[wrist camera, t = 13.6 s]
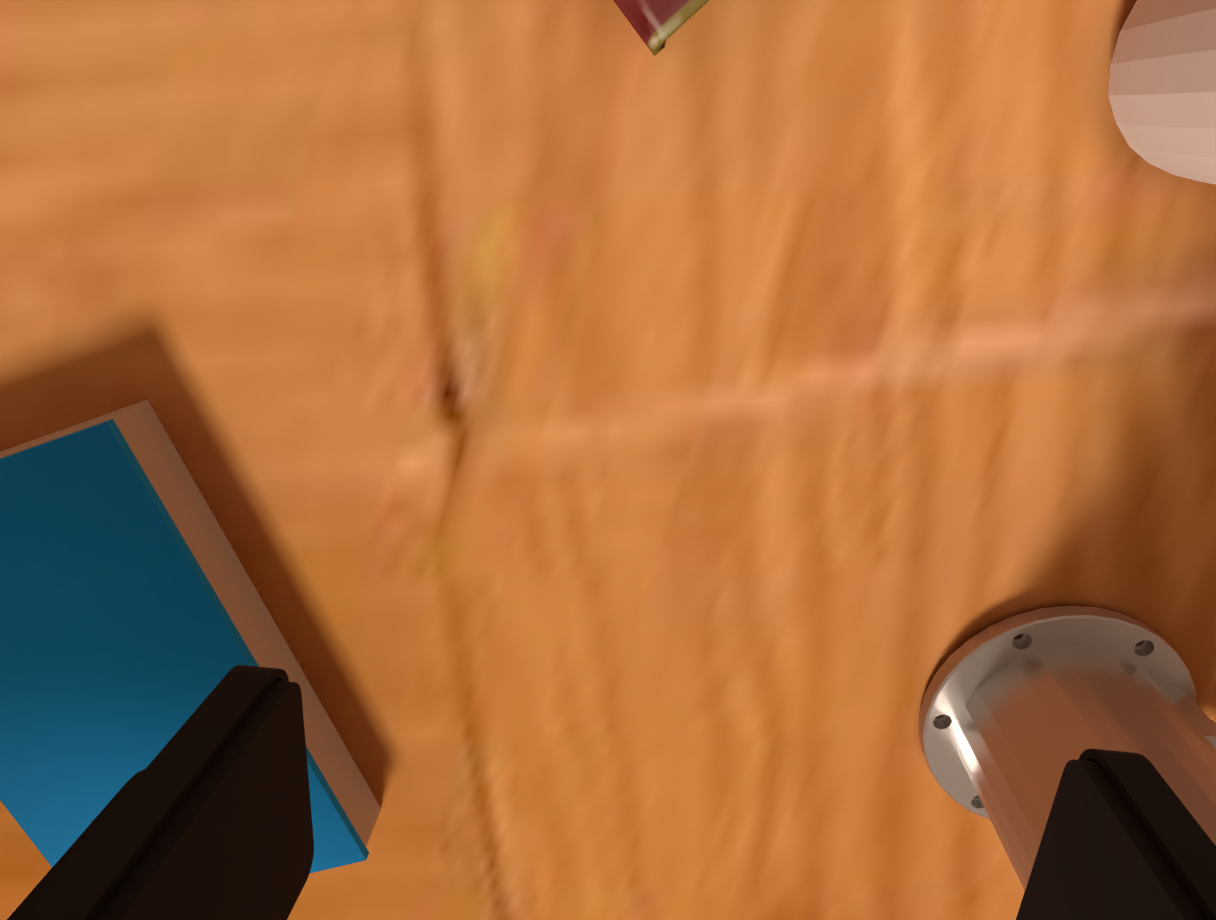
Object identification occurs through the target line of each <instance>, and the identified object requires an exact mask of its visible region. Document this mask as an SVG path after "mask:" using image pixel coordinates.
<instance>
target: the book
mask: <svg viewBox="0 0 1216 920" xmlns="http://www.w3.org/2000/svg"><path fill="white" fill-rule="evenodd" d="M237 665H248V666H258V667H268V668H278V669H283V670H285V671H286V673H287V675H288V678H289V682H296V683H298V684H299V686H300V688H301V693H302V705H303V717H304V729H305V741H306V753H307V765H308V777H309V790H310V802H311V814H312V826H313V838H314V856H313V862H312V866H311V870H310V873H313V872H317V871H321V870H326V869H330V868H334V867H339V866H343V865H347V864H351V863H356V862H360V861H364V860H366V859H367V857H368V854H369V852H368V850H367V848H366V845H367V843H368V840H369V838H370V835H371V833H372V830H373V828H374V825H375V823H376V820H377V817H378V815H379V812H380V810H381V807H380V806H379V804H378V802H377V800H376V799H375V797H374V795H373V793H372V792H371V790H370V788H369V786H368V785H367V783H366V781H365V779H364V778H363V776H362V774H361V772H360V771H359V769H358V767H357V765H356V764H355V762H354V760H353V758H352V757H351V755H350V753H349V751H348V750H347V748H346V746H345V744H344V743H343V741H342V739H341V737H340V736H339V734H338V732H337V730H336V729H335V727H334V725H333V723H332V721H331V720H330V718H329V716H328V714H327V713H326V711H325V709H324V707H323V706H322V704H321V702H320V700H319V699H318V697H317V695H316V693H315V692H314V690H313V688H312V686H311V685H310V683H309V681H308V679H307V678H306V676H305V674H304V672H303V671H302V669H301V667H300V665H299V664H298V662H297V660H296V658H295V657H294V655H293V653H292V651H291V650H290V648H289V646H288V644H287V643H286V641H285V639H284V637H283V636H282V634H281V632H280V630H279V629H278V627H277V625H276V623H275V622H274V620H273V618H272V616H271V615H270V613H269V611H268V609H267V608H266V606H265V604H264V602H263V601H262V599H261V597H260V595H259V594H258V592H257V590H256V588H255V587H254V585H253V583H252V581H251V580H250V578H249V576H248V574H247V573H246V571H245V569H244V567H243V566H242V564H241V562H240V560H239V559H238V557H237V555H236V553H235V552H234V550H233V548H232V546H231V545H230V543H229V541H228V539H227V538H226V536H225V534H224V532H223V531H222V529H221V527H220V525H219V524H218V522H217V520H216V518H215V516H214V515H213V513H212V511H211V509H210V508H209V506H208V504H207V502H206V501H205V499H204V497H203V495H202V494H201V492H200V490H199V488H198V487H197V485H196V483H195V481H194V480H193V478H192V476H191V474H190V473H189V471H188V469H187V467H186V466H185V464H184V462H183V460H182V459H181V457H180V455H179V453H178V452H177V450H176V448H175V446H174V445H173V443H172V441H171V439H170V438H169V436H168V434H167V432H166V431H165V429H164V427H163V425H162V424H161V422H160V420H159V418H158V417H157V415H156V413H155V411H154V410H153V408H152V406H151V404H150V403H149V401H148V399H147V400H144V401H141V402H138V403H135V404H133V405H130V406H127V407H124V408H121V409H118V410H116V411H113V412H110V413H107V414H104V415H101V416H99V417H96V418H93V419H90V420H87V421H84V422H82V423H79V424H76V425H73V426H70V427H67V428H65V429H62V430H59V431H56V432H53V433H50V434H48V435H45V436H42V437H39V438H36V439H33V440H31V441H28V442H25V443H22V444H19V445H16V446H14V447H11V448H8V449H5V450H2V451H0V800H1V802H2V803H3V804H4V806H5V807H6V808H7V809H8V811H9V812H10V813H11V815H12V816H13V817H14V819H15V820H16V821H17V822H18V824H19V825H20V826H21V828H22V829H23V830H24V831H25V833H26V834H27V835H28V837H29V838H30V839H31V840H32V842H33V843H34V844H35V846H36V847H37V848H38V849H39V851H40V852H41V853H42V855H43V856H44V857H45V859H46V860H47V861H48V862H49V864H50V865H51V866H52V867H53V866H54V865H55V864H56V863H57V862H58V860H59V859H60V858H61V857H62V856H63V855H64V854H65V852H66V851H67V850H68V849H69V848H70V847H71V846H72V844H73V843H74V842H75V841H76V840H77V839H78V837H79V836H80V835H81V834H82V833H83V832H84V831H85V829H86V828H87V827H88V826H89V825H90V824H91V823H92V821H93V820H94V819H95V818H96V817H97V816H98V814H99V813H100V812H101V811H102V810H103V809H104V808H105V806H106V805H107V804H108V803H109V802H110V801H111V799H112V798H113V797H114V796H115V795H116V794H117V793H118V791H119V790H120V789H121V788H122V787H123V786H124V785H125V783H126V782H127V781H128V780H129V779H131V778H132V777H133V776H134V775H135V774H136V773H137V772H139V771H141V770H144V769H146V768H147V766H148V765H149V764H150V763H151V762H152V761H153V759H154V758H155V757H156V756H157V755H158V754H159V752H160V751H161V750H162V749H163V748H164V747H165V745H166V744H167V743H168V742H169V741H170V740H171V738H172V737H173V736H174V735H175V734H176V733H177V731H178V730H179V729H180V728H181V727H182V726H183V724H184V723H185V722H186V721H187V720H188V719H189V717H190V716H191V715H192V714H193V713H194V712H195V710H196V709H197V708H198V707H199V706H200V705H201V703H202V702H203V701H204V700H205V699H206V698H207V696H208V695H209V694H210V693H211V692H212V691H213V689H214V688H215V687H216V686H217V685H218V684H219V682H220V681H221V680H222V679H223V678H224V677H225V675H226V674H227V673H228V672H229V671H230V670H231V669H232V668H233V667H234V666H237Z"/></svg>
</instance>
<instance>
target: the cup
mask: <svg viewBox="0 0 1216 920" xmlns="http://www.w3.org/2000/svg"><path fill="white" fill-rule="evenodd" d="M1108 97H1109V100H1110V104H1111V108H1112V111H1113V115H1114V119H1115V122H1116V124H1117V126H1118V128H1119V129H1120V131H1121V133H1122V135H1123V136H1124V138H1125V140H1126V142H1127V143H1128V145H1129V147H1131V148H1132V149H1133V150H1134V151H1135V152H1136V153H1137V154H1139V155H1140V156H1141V157H1142V158H1143V159H1144V160H1146V161H1147V162H1148V163H1149V164H1151V165H1153V166H1155V167H1157V168H1159V169H1162V170H1164V171H1166V172H1168V173H1170V174H1172V175H1175V176H1179V177H1183V178H1187V179H1191V180H1195V181H1200V182H1205V183H1210V184H1215V185H1216V0H1137V1H1136V3H1135V5H1134V7H1133V9H1132V10H1131V12H1130V14H1129V16H1128V18H1127V20H1126V21H1125V23H1124V25H1123V27H1122V29H1121V31H1120V33H1119V37H1118V40H1117V44H1116V47H1115V51H1114V54H1113V58H1112V61H1111V66H1110V79H1109V91H1108Z"/></svg>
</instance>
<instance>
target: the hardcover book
mask: <svg viewBox="0 0 1216 920" xmlns="http://www.w3.org/2000/svg"><path fill="white" fill-rule="evenodd" d="M708 1H709V0H614V2H615V3H616V4H617V6H618V7H619V8H620V10H621V11H622V12H623V14H624V15H625V17H626V18H627V19H628V21H629V22H630V23H631V25H632V26H633V27H634V29H635V30H636V32H637V33H638V34H639V36H640V37H641V38H642V40H643V41H644V42H645V44H646V45H647V47H648V48H649V49H650V51H651V52H652V53H653V55H657V54H658V53H659V52H660V51H661V50H662V49H663V48H664V45H663V44H664V42H665V41H666V39H667V38H668V37H669V36H671V35H672V34H673V33H674V32H675V31H676V30H677V29H678V28H679V27H680V26H682V25H683V24H684V23H685V22H686V21H687V20H688V19H689V18H690V17H691V16H692V15H694V14H695V13H696V12H697V11H698V10H699V9H700V8H701V7H702V6H703V5H705V4H706V3H707V2H708Z"/></svg>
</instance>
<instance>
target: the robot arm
mask: <svg viewBox="0 0 1216 920" xmlns="http://www.w3.org/2000/svg"><path fill="white" fill-rule="evenodd" d="M919 738H920V742H921V747H922V752H923V754H924V756H925V758H926V761H927V763H928V766H929V768H930V770H931V772H932V774H933V776H934V777H935V779H936V780H937V782H938V783H939V785H940V786H941V788H942V789H943V790H944V791H945V792H946V793H947V794H948V795H949V796H950V797H952V798H953V799H954V800H955V801H956V802H957V803H959V804H960V805H962V806H963V807H965V808H966V809H968V810H969V811H971V812H973V813H975V814H978V815H980V816H983V817H986V818H988V819H990V820H991V822H992V824H993V826H994V828H995V830H996V832H997V834H998V836H999V838H1000V840H1001V842H1002V845H1003V847H1004V849H1005V851H1006V853H1007V855H1008V857H1009V859H1010V861H1011V863H1012V865H1013V867H1014V869H1015V871H1016V873H1017V875H1018V877H1019V879H1020V881H1021V883H1022V885H1023V888H1024V890H1025V893H1024V896H1023V899H1022V902H1021V906H1020V909H1019V912H1018V915H1017V918H1016V920H1216V723H1215V722H1214V721H1213V720H1210V718H1209V717H1208V716H1207V715H1206V714H1205V713H1204V712H1203V711H1202V710H1201V709H1200V708H1199V707H1198V706H1197V705H1196V692H1195V687H1194V684H1193V681H1192V678H1191V675H1190V672H1189V670H1188V668H1187V667H1186V665H1185V664H1184V662H1183V661H1182V659H1181V658H1180V656H1179V655H1178V653H1177V652H1176V651H1175V650H1174V649H1173V648H1172V647H1171V646H1170V645H1169V644H1168V643H1167V642H1166V641H1165V640H1164V639H1163V638H1162V637H1161V636H1160V635H1159V634H1158V633H1156V632H1155V631H1153V630H1152V629H1151V628H1149V627H1148V626H1146V625H1145V624H1144V623H1142V622H1140V621H1138V620H1136V619H1133V618H1131V617H1129V616H1127V615H1124V614H1122V613H1120V612H1115V611H1111V610H1107V609H1102V608H1098V607H1088V606H1069V605H1068V606H1059V607H1049V608H1041V609H1037V610H1033V611H1029V612H1025V613H1022V614H1018V615H1014V616H1012V617H1010V618H1007V619H1005V620H1003V621H1000V622H998V623H996V624H994V625H991V626H989V627H988V628H986V629H985V630H983V631H981V632H980V633H978V634H977V635H975V636H973V637H972V638H970V639H969V640H967V641H966V642H965V643H964V644H963V645H962V646H960V647H959V648H958V649H957V650H956V651H955V652H954V653H953V654H951V655H950V656H949V657H948V659H947V660H946V661H945V662H944V664H943V665H942V666H941V667H940V669H939V670H938V671H937V672H936V674H935V675H934V677H933V679H932V681H931V683H930V685H929V687H928V688H927V690H926V692H925V694H924V698H923V702H922V705H921V709H920V713H919ZM313 856H314V838H313V826H312V814H311V802H310V790H309V777H308V765H307V753H306V741H305V729H304V717H303V705H302V693H301V688H300V686H299V684H298V683H296V682H289V678H288V675H287V673H286V671H285V670H283V669H278V668H268V667H258V666H248V665H237V666H234V667H233V668H232V669H231V670H230V671H229V672H228V673H227V674H226V675H225V677H224V678H223V679H222V680H221V681H220V682H219V684H218V685H217V686H216V687H215V688H214V689H213V691H212V692H211V693H210V694H209V695H208V696H207V698H206V699H205V700H204V701H203V702H202V703H201V705H200V706H199V707H198V708H197V709H196V710H195V712H194V713H193V714H192V715H191V716H190V717H189V719H188V720H187V721H186V722H185V723H184V724H183V726H182V727H181V728H180V729H179V730H178V731H177V733H176V734H175V735H174V736H173V737H172V738H171V740H170V741H169V742H168V743H167V744H166V745H165V747H164V748H163V749H162V750H161V751H160V752H159V754H158V755H157V756H156V757H155V758H154V759H153V761H152V762H151V763H150V764H149V765H148V766H147V768H146V769H144V770H141V771H139V772H137V773H136V774H135V775H134V776H133V777H132V778H131V779H129V780H128V781H127V782H126V783H125V785H124V786H123V787H122V788H121V789H120V790H119V791H118V793H117V794H116V795H115V796H114V797H113V798H112V799H111V801H110V802H109V803H108V804H107V805H106V806H105V808H104V809H103V810H102V811H101V812H100V813H99V814H98V816H97V817H96V818H95V819H94V820H93V821H92V823H91V824H90V825H89V826H88V827H87V828H86V829H85V831H84V832H83V833H82V834H81V835H80V836H79V837H78V839H77V840H76V841H75V842H74V843H73V844H72V846H71V847H70V848H69V849H68V850H67V851H66V852H65V854H64V855H63V856H62V857H61V858H60V859H59V860H58V862H57V863H56V864H55V865H54V866H53V867H52V869H51V870H50V871H49V872H48V873H47V874H46V875H45V877H44V878H43V879H42V880H41V881H40V882H39V884H38V885H37V886H36V887H35V888H34V889H33V890H32V892H31V893H30V894H29V895H28V896H27V897H26V898H25V900H24V901H23V902H22V903H21V904H20V905H19V907H18V908H17V909H16V910H15V911H14V912H13V913H12V915H11V916H10V917H9V918H8V919H7V920H287V918H288V916H289V914H290V912H291V910H292V908H293V906H294V904H295V902H296V900H297V898H298V896H299V894H300V892H301V890H302V889H303V887H304V885H305V883H306V880H307V878H308V876H309V873H310V870H311V866H312V862H313Z"/></svg>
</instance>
